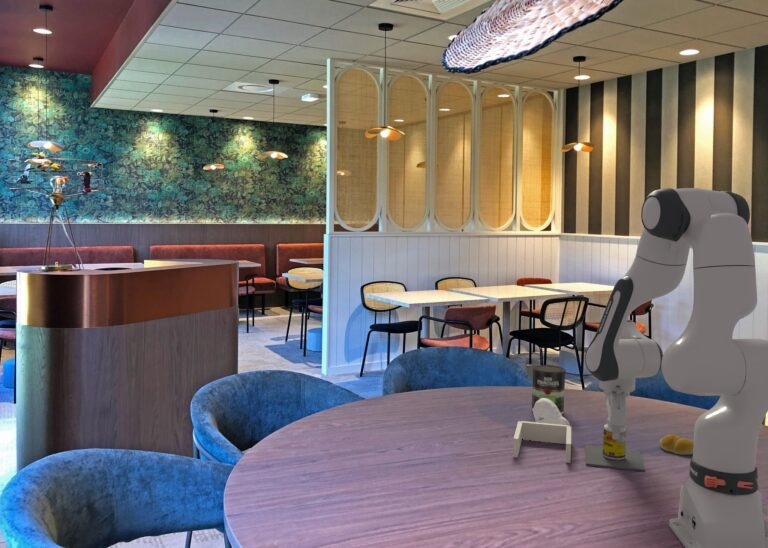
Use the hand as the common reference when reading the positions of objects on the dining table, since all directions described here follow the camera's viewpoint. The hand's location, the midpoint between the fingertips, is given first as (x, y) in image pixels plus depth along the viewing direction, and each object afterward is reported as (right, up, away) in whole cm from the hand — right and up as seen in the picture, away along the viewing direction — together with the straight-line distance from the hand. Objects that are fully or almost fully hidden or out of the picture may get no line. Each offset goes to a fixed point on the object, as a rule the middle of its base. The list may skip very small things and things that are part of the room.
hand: (614, 434), depth 173 cm
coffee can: (-7, -3, +43) cm, 44 cm away
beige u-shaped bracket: (-17, -6, +7) cm, 19 cm away
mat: (0, -7, +1) cm, 7 cm away
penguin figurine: (-10, -5, +24) cm, 27 cm away
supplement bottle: (0, -6, 0) cm, 6 cm away
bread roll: (+20, -7, +8) cm, 22 cm away
